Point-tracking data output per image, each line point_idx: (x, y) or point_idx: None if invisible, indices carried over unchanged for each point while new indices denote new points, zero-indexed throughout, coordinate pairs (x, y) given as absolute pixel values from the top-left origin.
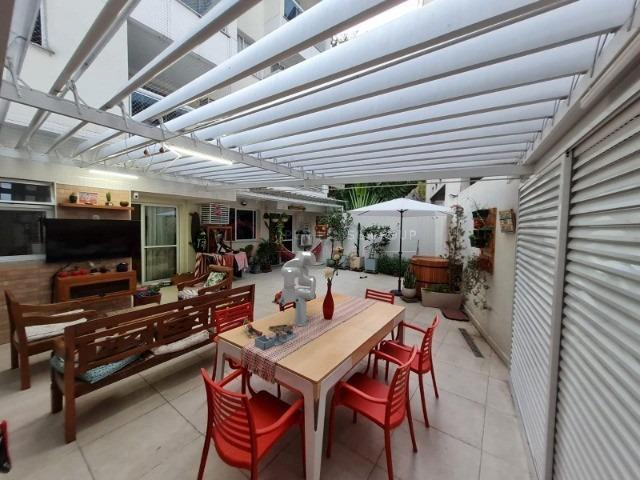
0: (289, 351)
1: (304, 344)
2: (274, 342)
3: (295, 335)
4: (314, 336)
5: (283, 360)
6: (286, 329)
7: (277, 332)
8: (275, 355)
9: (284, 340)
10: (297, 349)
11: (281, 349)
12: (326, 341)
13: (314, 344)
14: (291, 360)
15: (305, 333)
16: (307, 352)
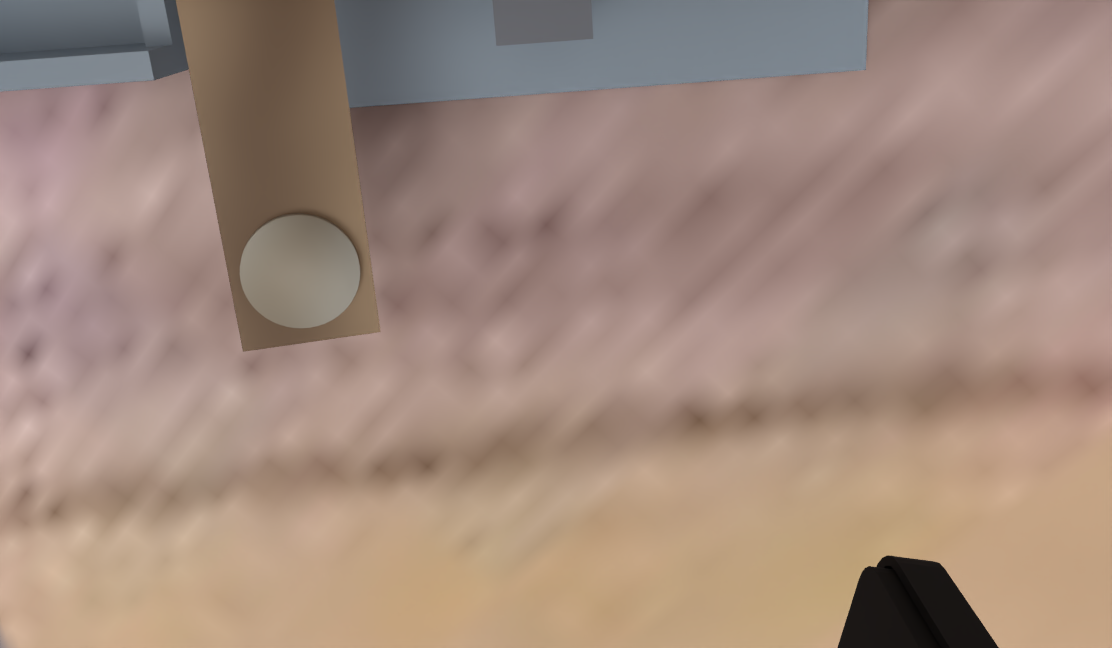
0: (317, 429)
1: (692, 425)
2: (181, 70)
3: (839, 35)
4: (1087, 327)
5: (76, 566)
6: (580, 36)
7: (196, 97)
8: (39, 371)
9: (489, 54)
10: (471, 469)
11: None
12: (1047, 598)
13: (817, 538)
14: (180, 639)
15: (1092, 89)
16: (530, 635)
